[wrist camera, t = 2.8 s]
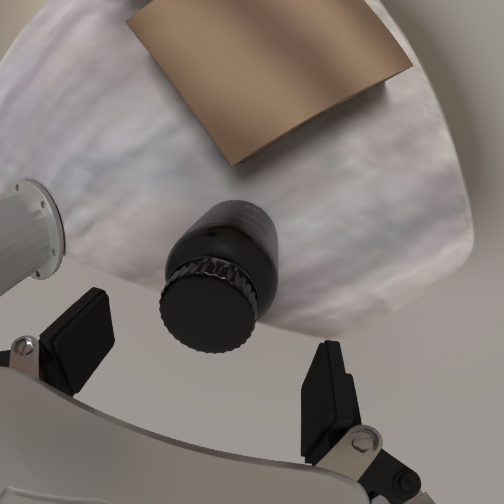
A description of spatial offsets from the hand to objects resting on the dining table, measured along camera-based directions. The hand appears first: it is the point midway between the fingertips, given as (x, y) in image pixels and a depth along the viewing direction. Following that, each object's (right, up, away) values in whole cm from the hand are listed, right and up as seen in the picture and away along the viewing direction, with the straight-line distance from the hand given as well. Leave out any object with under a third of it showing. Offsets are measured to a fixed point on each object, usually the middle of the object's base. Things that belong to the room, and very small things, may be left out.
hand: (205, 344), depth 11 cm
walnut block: (+3, +20, +7) cm, 22 cm away
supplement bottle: (+1, +5, +13) cm, 14 cm away
